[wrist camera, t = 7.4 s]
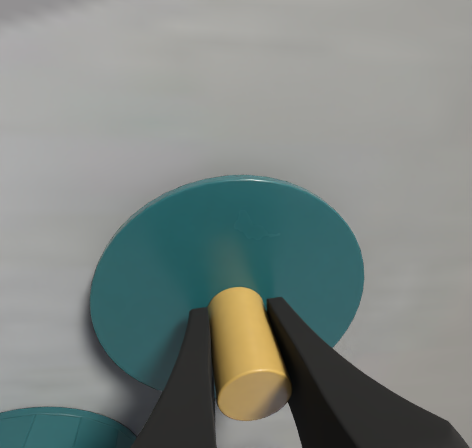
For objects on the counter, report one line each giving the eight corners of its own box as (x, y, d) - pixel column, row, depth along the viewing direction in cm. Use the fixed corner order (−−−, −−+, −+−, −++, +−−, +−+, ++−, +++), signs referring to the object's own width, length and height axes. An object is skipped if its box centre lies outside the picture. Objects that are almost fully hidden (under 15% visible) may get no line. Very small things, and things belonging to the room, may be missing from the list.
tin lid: (338, 360, 18) (391, 462, 13) (125, 396, 16) (105, 522, 12) (370, 157, 13) (477, 212, 8) (60, 183, 11) (-18, 268, 7)
